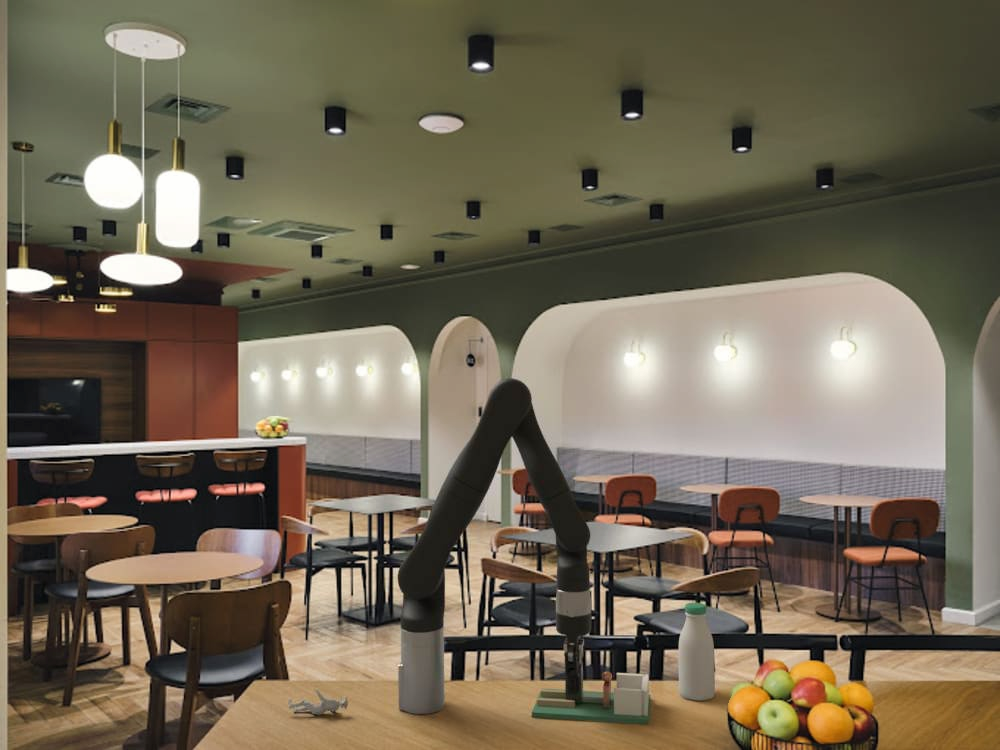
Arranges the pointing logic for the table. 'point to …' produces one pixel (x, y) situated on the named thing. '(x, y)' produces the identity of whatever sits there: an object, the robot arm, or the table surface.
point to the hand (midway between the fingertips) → (574, 689)
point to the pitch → (580, 709)
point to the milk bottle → (696, 656)
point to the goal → (631, 694)
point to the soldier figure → (319, 705)
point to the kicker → (590, 697)
